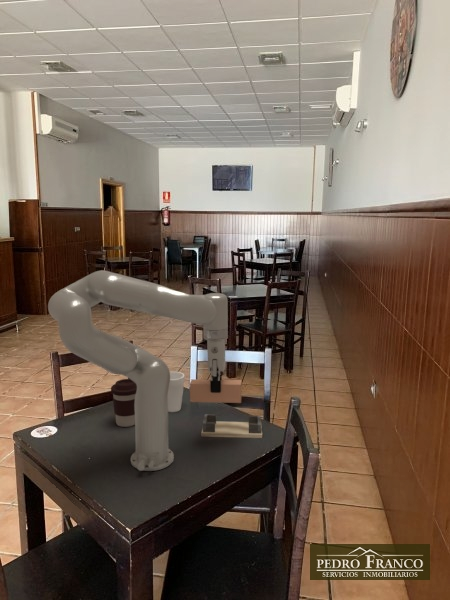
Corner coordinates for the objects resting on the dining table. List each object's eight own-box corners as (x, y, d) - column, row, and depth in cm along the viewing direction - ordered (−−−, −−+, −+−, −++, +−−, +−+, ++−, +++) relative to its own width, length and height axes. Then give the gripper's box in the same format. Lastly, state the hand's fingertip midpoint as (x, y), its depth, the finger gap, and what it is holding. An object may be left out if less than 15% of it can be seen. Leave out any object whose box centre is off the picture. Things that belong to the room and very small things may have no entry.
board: (262, 438, 145) (262, 426, 144) (201, 436, 146) (201, 424, 145) (261, 425, 154) (261, 414, 153) (203, 424, 155) (203, 412, 154)
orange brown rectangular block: (241, 402, 138) (241, 384, 137) (190, 402, 139) (189, 383, 138) (241, 397, 142) (241, 380, 141) (191, 397, 143) (191, 379, 142)
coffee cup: (125, 432, 148) (123, 389, 146) (106, 423, 154) (104, 382, 152) (147, 421, 156) (146, 381, 154) (128, 414, 162) (127, 375, 159)
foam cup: (189, 407, 169) (189, 374, 167) (174, 415, 161) (174, 381, 159) (170, 401, 174) (169, 370, 172) (154, 410, 166) (154, 376, 164)
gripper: (226, 340, 129) (226, 400, 132) (228, 327, 145) (229, 380, 148) (200, 340, 129) (201, 399, 132) (206, 326, 145) (206, 379, 149)
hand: (216, 388), depth 140 cm, fingers closed on orange brown rectangular block, 4 cm apart
